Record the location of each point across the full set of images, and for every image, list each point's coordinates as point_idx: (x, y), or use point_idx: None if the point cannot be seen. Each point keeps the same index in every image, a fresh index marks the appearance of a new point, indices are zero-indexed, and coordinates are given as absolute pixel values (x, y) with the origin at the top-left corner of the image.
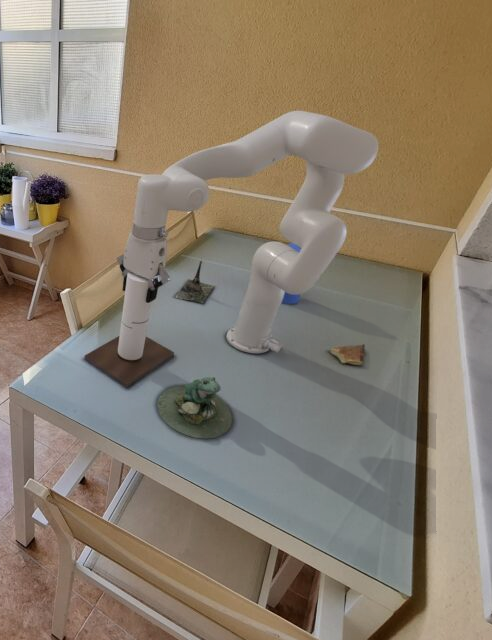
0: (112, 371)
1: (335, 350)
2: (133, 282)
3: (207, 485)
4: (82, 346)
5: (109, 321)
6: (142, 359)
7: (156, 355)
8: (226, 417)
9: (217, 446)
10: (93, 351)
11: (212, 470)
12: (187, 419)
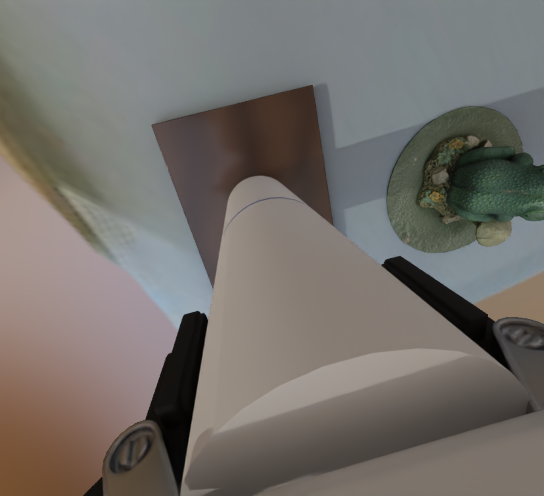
0: None
1: None
2: None
3: (537, 269)
4: (171, 281)
5: (72, 153)
6: (293, 192)
7: (298, 147)
8: (508, 140)
9: None
10: (213, 281)
11: (533, 247)
12: (463, 218)
